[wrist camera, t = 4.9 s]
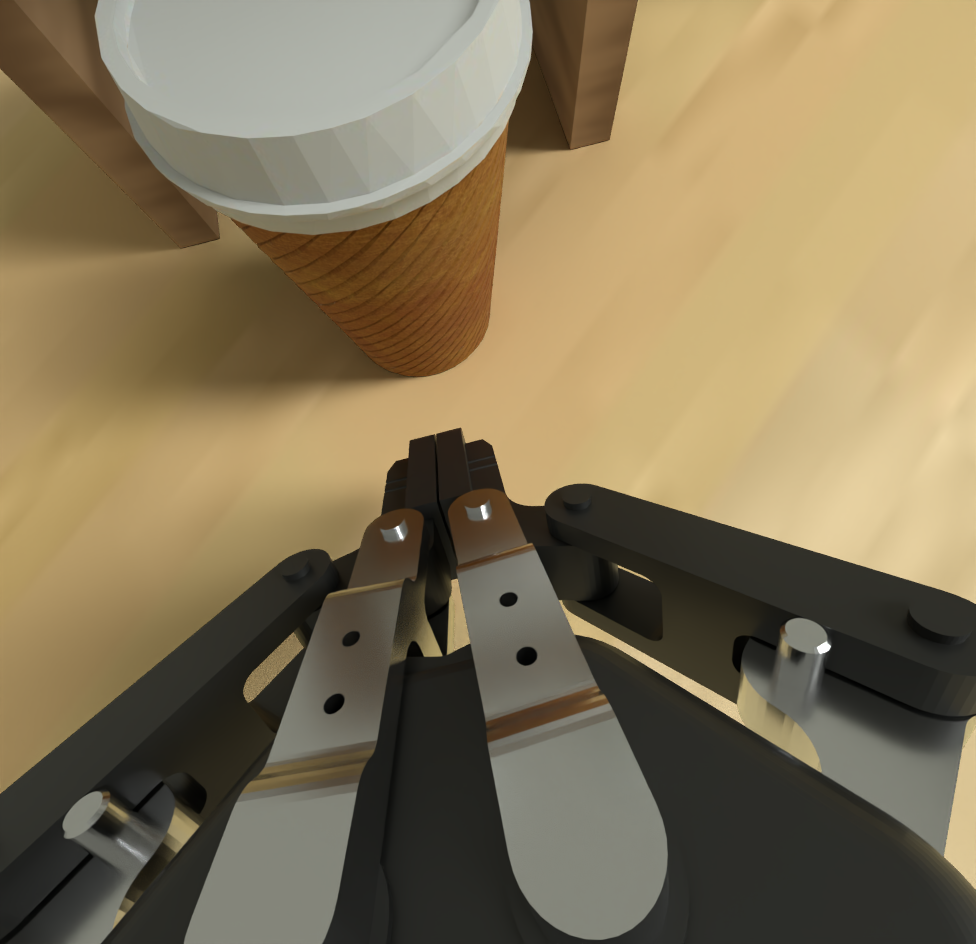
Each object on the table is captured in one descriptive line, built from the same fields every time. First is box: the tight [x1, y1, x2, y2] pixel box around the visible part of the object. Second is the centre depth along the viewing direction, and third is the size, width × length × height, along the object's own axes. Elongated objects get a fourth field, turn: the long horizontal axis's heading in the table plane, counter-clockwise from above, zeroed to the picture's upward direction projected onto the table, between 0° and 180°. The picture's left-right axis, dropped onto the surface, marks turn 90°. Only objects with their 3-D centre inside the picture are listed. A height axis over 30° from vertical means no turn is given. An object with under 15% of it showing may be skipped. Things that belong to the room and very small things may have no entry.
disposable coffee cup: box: [95, 0, 533, 376], centre depth 15 cm, size 10×10×12 cm
